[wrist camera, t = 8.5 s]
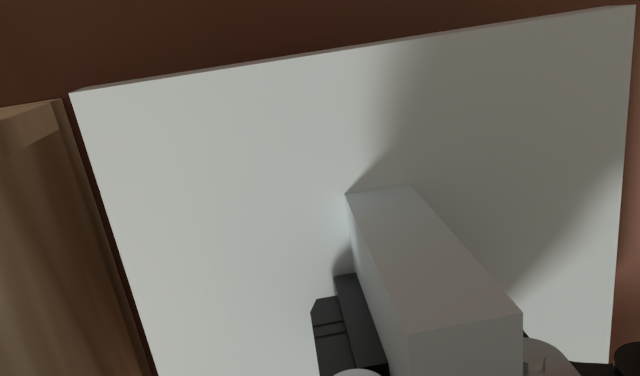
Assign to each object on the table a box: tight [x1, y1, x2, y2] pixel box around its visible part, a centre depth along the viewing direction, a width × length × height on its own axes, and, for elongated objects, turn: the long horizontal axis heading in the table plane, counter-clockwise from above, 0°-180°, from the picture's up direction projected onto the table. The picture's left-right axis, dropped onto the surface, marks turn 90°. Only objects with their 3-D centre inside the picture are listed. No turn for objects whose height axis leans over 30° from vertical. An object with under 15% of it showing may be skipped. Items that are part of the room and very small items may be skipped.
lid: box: [68, 5, 636, 376], centre depth 11 cm, size 13×13×8 cm
